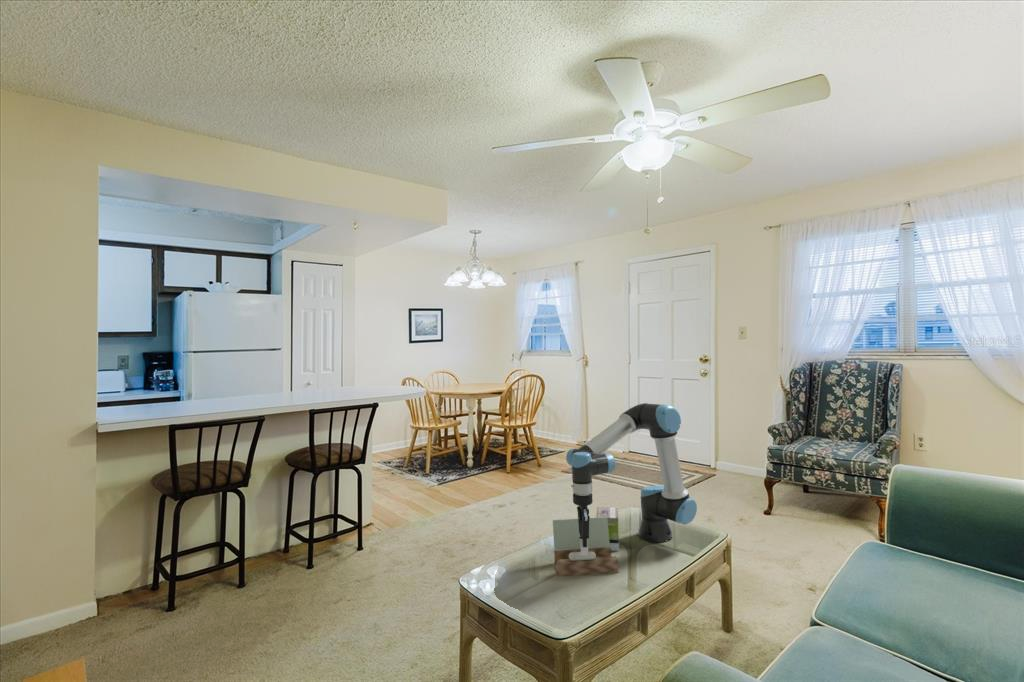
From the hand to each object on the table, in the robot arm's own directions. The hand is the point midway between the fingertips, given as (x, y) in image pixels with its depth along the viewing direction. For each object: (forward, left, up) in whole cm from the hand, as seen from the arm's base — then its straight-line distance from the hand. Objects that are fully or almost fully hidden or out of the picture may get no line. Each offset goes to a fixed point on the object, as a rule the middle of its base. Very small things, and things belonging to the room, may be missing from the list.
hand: (584, 554), depth 185 cm
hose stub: (0, -7, -3) cm, 8 cm away
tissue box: (-2, -11, -10) cm, 15 cm away
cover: (-2, -18, +1) cm, 18 cm away
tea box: (-17, -33, -10) cm, 39 cm away
